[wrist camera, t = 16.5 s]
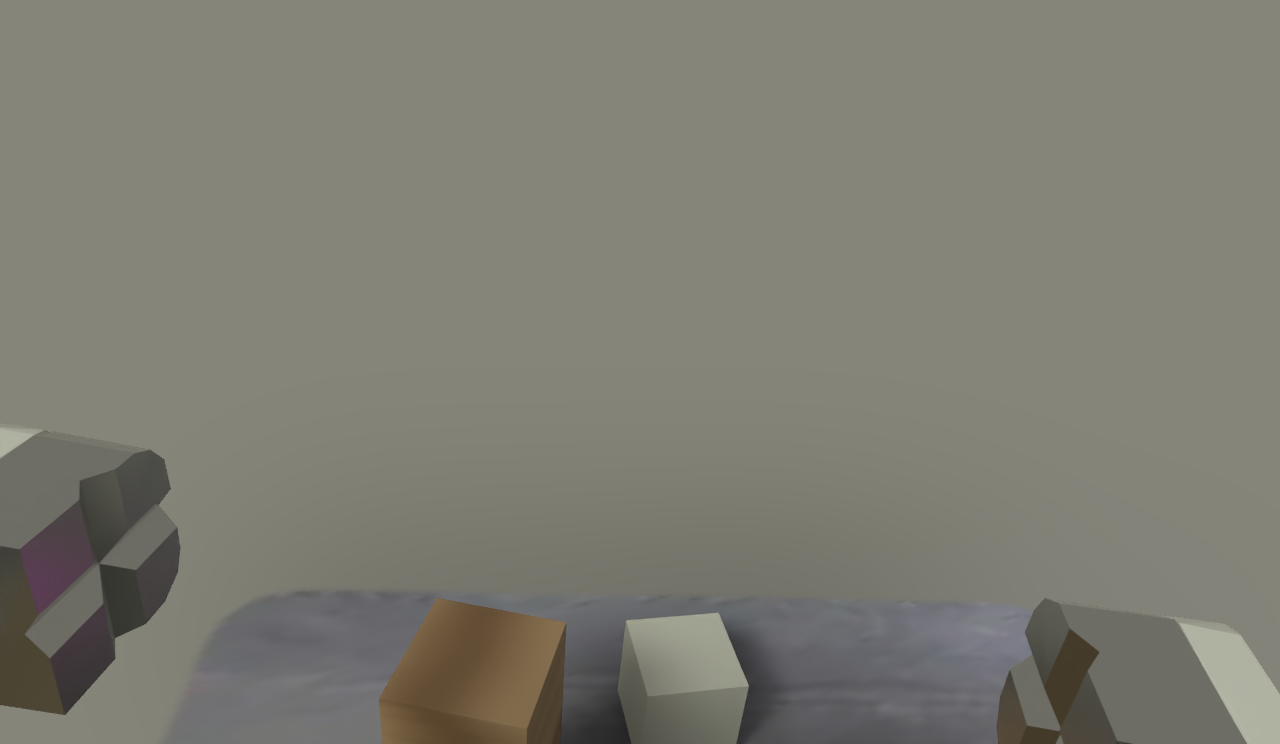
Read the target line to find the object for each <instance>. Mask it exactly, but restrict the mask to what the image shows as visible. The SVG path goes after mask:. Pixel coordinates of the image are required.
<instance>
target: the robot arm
mask: <svg viewBox="0 0 1280 744" xmlns="http://www.w3.org/2000/svg"><path fill="white" fill-rule="evenodd" d="M170 489H171V488H170V483H169V479H168V475H167V469H166V465H165V460H164V459H163V458H162V457H160V456H159V455H157V454H156V453H154V452H153V451H151V450H149V449H143V448H138V447H132V446H127V445H122V444H117V443H111V442H106V441H101V440H96V439H90V438H85V437H80V436H74V435H69V434H64V433H58V432H48V431H45V430H40V429H34V428H28V427H23V426H17V425H10V424H0V705H4V706H10V707H16V708H22V709H29V710H35V711H42V712H48V713H54V714H61V715H66V713H67V712H68V711H69V710H70V709H71V708H72V707H73V706H74V704H75V703H76V702H77V701H78V700H79V699H80V698H81V696H82V695H83V694H84V693H85V692H86V691H87V689H89V688H90V687H91V685H92V684H93V683H94V682H95V681H96V680H97V678H98V677H99V676H100V675H101V674H102V673H103V672H104V671H105V670H106V669H107V667H108V666H109V665H110V664H111V663H112V662H113V661H114V660H115V638H116V637H118V636H120V635H122V634H125V633H127V632H129V631H131V630H133V629H135V628H138V627H140V626H142V625H144V624H146V623H147V622H148V621H149V620H150V618H151V617H152V616H153V615H154V614H155V613H156V611H157V610H158V609H159V608H160V607H161V605H162V604H163V603H164V602H165V600H166V598H167V596H168V593H169V591H170V589H171V586H172V584H173V582H174V580H175V577H176V575H177V573H178V565H179V555H180V543H179V536H178V529H177V527H176V525H175V524H174V523H173V522H172V521H171V519H170V518H169V517H168V516H167V514H166V513H165V512H164V511H163V510H162V509H161V507H160V506H159V504H160V503H161V501H162V500H163V499H164V497H165V496H166V494H167V493H168V492H169V491H170ZM1025 634H1026V637H1027V640H1028V643H1029V646H1030V649H1031V651H1032V654H1033V655H1032V656H1030V657H1029V658H1027V659H1025V660H1024V661H1022V662H1021V663H1019V664H1017V665H1016V666H1014V667H1013V668H1011V669H1010V670H1009V673H1008V676H1007V679H1006V682H1005V685H1004V687H1003V690H1002V693H1001V696H1000V702H999V712H998V722H997V733H998V744H1280V694H1279V693H1278V691H1277V690H1276V688H1275V686H1274V685H1273V684H1272V682H1271V680H1270V679H1269V677H1268V676H1267V674H1266V673H1265V671H1264V670H1263V668H1262V667H1261V665H1260V664H1259V662H1258V661H1257V659H1256V658H1255V656H1254V655H1253V653H1252V652H1251V650H1250V649H1249V647H1248V645H1247V644H1246V642H1245V641H1244V640H1243V638H1242V636H1241V635H1240V634H1239V633H1237V632H1236V631H1235V630H1233V629H1232V628H1230V627H1229V626H1227V625H1226V624H1223V623H1216V622H1209V621H1201V620H1194V619H1187V618H1180V617H1172V616H1165V615H1164V616H1162V617H1158V616H1152V615H1147V614H1140V613H1134V612H1128V611H1122V610H1116V609H1109V608H1103V607H1097V606H1091V605H1084V604H1078V603H1072V602H1066V601H1060V600H1053V599H1046V598H1045V599H1044V600H1043V601H1042V602H1041V603H1040V604H1039V605H1038V606H1037V607H1036V609H1035V610H1034V611H1033V614H1032V616H1031V619H1030V621H1029V623H1028V626H1027V628H1026V630H1025Z"/></svg>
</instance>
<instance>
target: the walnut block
mask: <svg viewBox="0 0 1280 744" xmlns="http://www.w3.org/2000/svg"><path fill="white" fill-rule="evenodd" d="M565 639H566V622H561V621H556V620H550V619H545V618H540V617H535V616H529V615H524V614H519V613H513V612H508V611H503V610H498V609H492V608H487V607H482V606H476V605H471V604H466V603H461V602H455V601H450V600H445V599H439V598H437V599H436V601H435V603H434V604H433V606H432V608H431V610H430V611H429V613H428V615H427V616H426V618H425V620H424V622H423V623H422V625H421V627H420V629H419V630H418V632H417V634H416V636H415V637H414V639H413V641H412V642H411V644H410V646H409V648H408V649H407V651H406V653H405V655H404V656H403V658H402V660H401V662H400V663H399V665H398V667H397V669H396V670H395V672H394V674H393V675H392V677H391V679H390V681H389V682H388V684H387V686H386V688H385V689H384V691H383V693H382V695H381V696H380V698H379V703H380V716H381V729H382V742H383V744H560V737H561V718H562V698H563V678H564V658H565Z"/></svg>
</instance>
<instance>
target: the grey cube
mask: <svg viewBox="0 0 1280 744" xmlns="http://www.w3.org/2000/svg"><path fill="white" fill-rule="evenodd" d="M748 688H749V685H748V683H747V680H746V678H745V675H744V673H743V671H742V668H741V666H740V663H739V661H738V659H737V656H736V654H735V651H734V649H733V647H732V644H731V642H730V639H729V637H728V634H727V632H726V630H725V627H724V625H723V622H722V620H721V618H720V615H719V613H712V614H699V615H687V616H675V617H663V618H651V619H638V620H626V626H625V634H624V642H623V650H622V658H621V666H620V674H619V682H618V693H619V697H620V701H621V705H622V709H623V713H624V717H625V721H626V725H627V729H628V732H629V736H630V740H631V744H736V743H737V738H738V734H739V729H740V725H741V720H742V715H743V711H744V706H745V702H746V697H747V692H748Z"/></svg>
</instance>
